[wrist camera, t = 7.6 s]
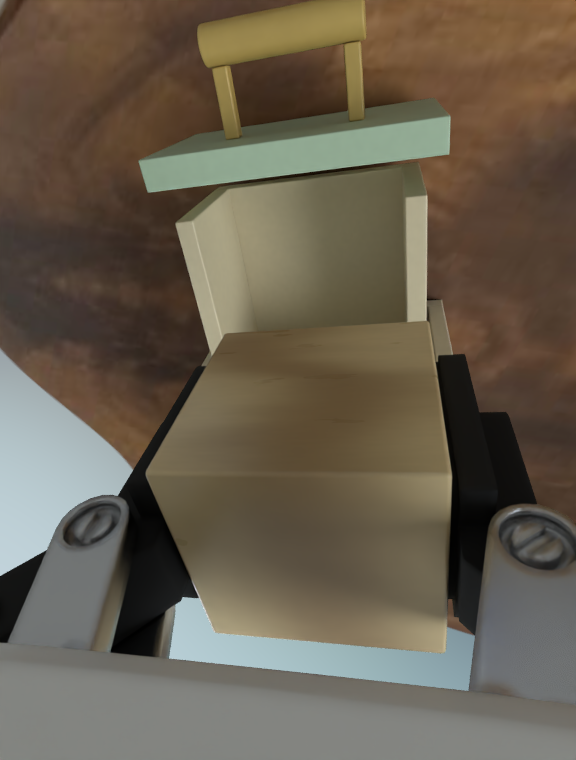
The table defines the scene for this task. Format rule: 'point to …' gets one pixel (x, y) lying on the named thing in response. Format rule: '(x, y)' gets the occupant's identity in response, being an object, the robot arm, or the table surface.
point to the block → (315, 487)
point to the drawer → (303, 190)
